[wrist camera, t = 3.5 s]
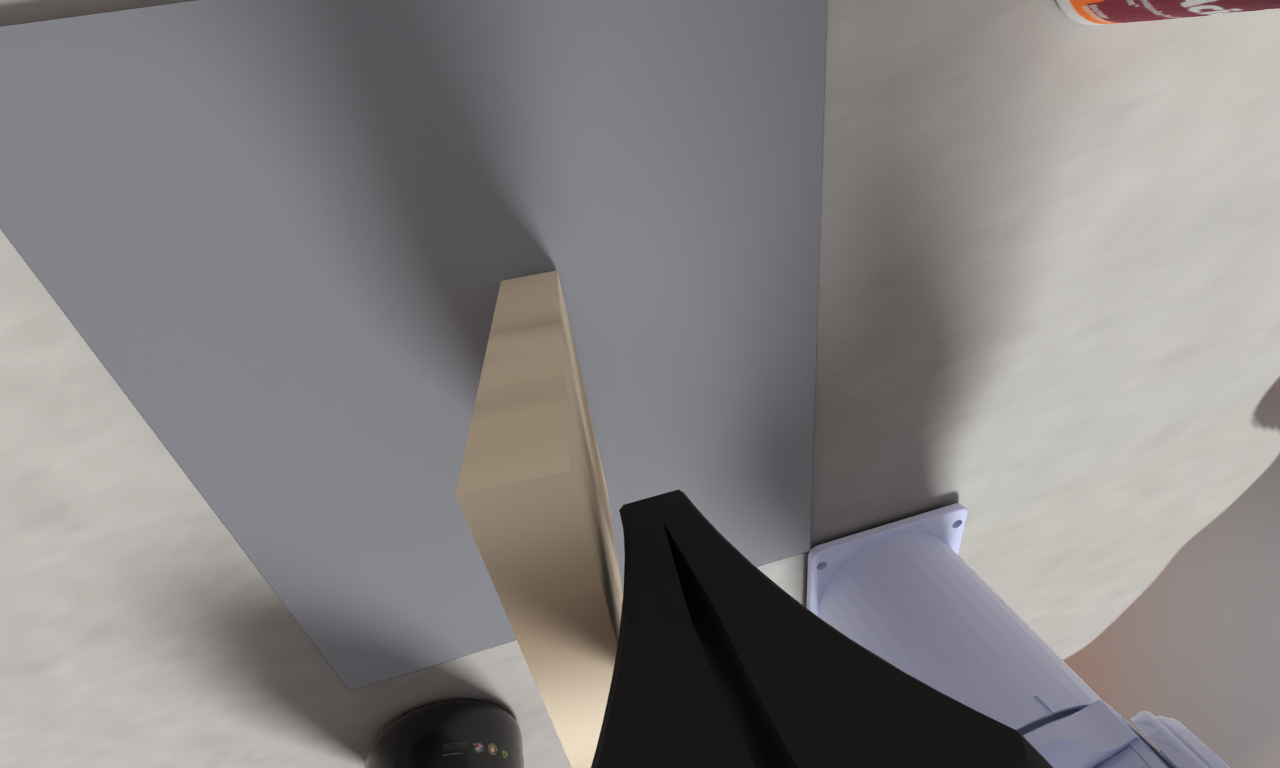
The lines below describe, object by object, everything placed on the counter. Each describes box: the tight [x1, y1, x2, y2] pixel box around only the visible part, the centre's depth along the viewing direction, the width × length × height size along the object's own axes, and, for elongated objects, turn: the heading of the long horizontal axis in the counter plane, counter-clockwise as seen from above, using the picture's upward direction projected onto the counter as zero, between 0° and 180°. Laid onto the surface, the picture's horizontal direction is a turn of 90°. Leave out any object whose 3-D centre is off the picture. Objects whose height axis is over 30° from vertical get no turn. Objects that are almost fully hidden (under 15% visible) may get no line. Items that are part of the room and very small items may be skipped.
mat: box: [0, 0, 828, 691], centre depth 17 cm, size 22×20×1 cm
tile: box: [455, 270, 623, 768], centre depth 13 cm, size 8×2×9 cm, turn 8°
